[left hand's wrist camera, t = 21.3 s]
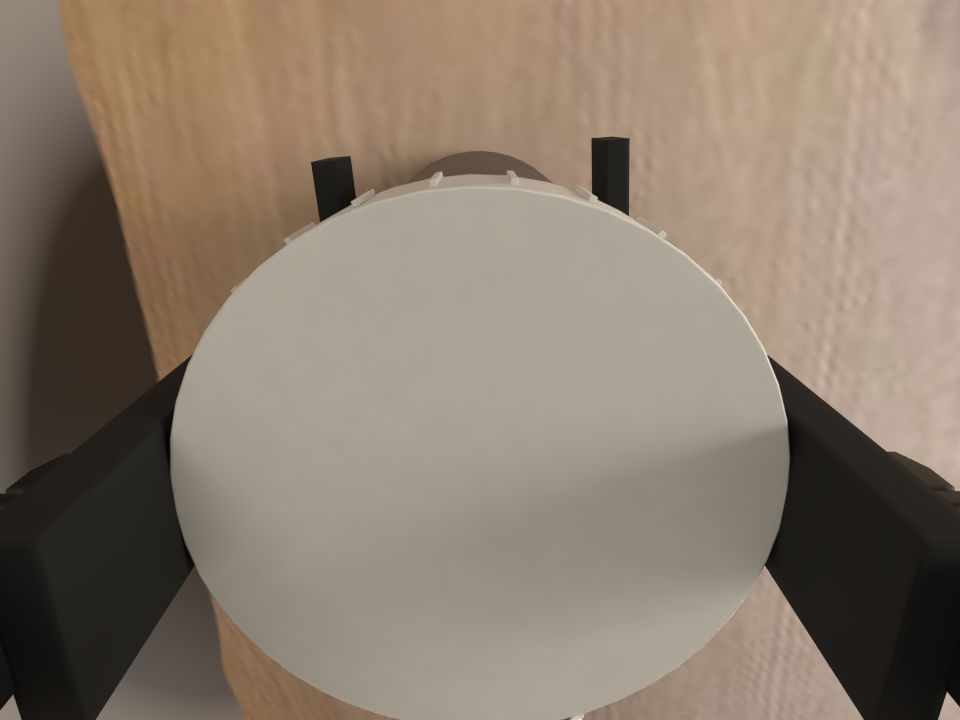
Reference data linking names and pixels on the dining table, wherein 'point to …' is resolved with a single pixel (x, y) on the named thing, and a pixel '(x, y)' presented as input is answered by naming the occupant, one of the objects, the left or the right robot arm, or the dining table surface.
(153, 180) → the dining table surface
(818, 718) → the dining table surface
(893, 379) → the dining table surface
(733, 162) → the dining table surface
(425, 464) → the lid
